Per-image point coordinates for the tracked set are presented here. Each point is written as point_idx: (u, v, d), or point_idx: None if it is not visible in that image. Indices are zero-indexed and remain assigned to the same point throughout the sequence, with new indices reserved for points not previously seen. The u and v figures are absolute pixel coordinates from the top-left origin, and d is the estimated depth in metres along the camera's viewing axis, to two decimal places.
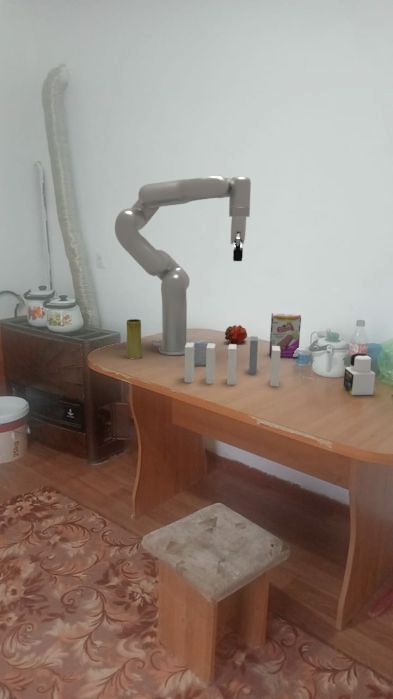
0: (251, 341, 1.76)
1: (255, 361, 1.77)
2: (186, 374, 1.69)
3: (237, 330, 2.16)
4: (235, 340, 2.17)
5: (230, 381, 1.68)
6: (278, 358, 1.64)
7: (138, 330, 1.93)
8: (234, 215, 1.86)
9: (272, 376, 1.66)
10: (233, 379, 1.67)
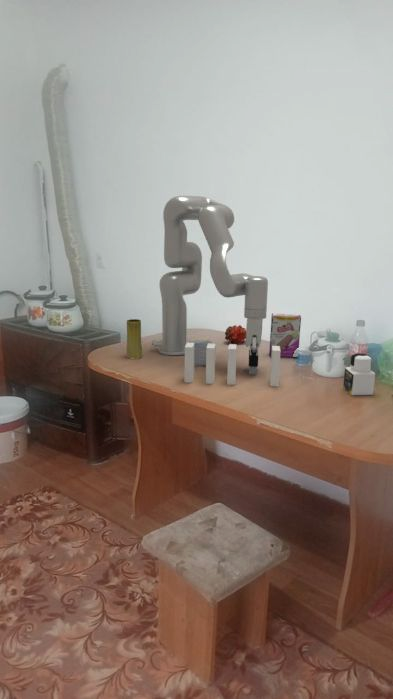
0: None
1: None
2: (186, 374, 1.69)
3: (237, 330, 2.16)
4: (235, 340, 2.17)
5: (230, 381, 1.68)
6: (278, 358, 1.64)
7: (138, 330, 1.93)
8: (250, 317, 1.73)
9: (272, 376, 1.66)
10: (233, 379, 1.67)
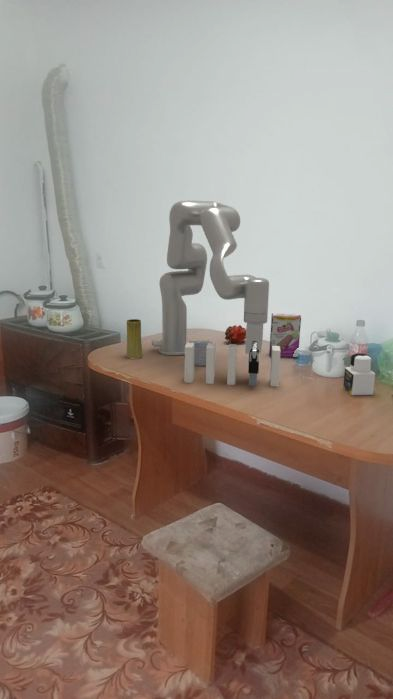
0: None
1: None
2: (186, 374, 1.69)
3: (237, 330, 2.16)
4: (235, 340, 2.17)
5: (230, 381, 1.68)
6: (278, 358, 1.64)
7: (138, 330, 1.93)
8: (250, 322, 1.62)
9: (272, 376, 1.66)
10: (233, 379, 1.67)
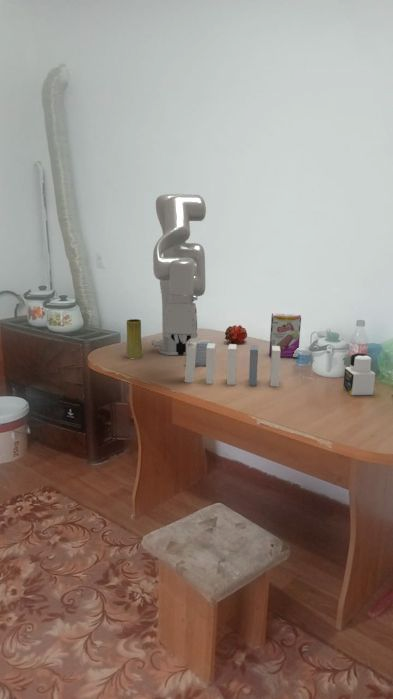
0: (251, 350, 1.64)
1: (255, 372, 1.66)
2: (187, 374, 1.69)
3: (237, 330, 2.16)
4: (235, 340, 2.17)
5: (230, 381, 1.68)
6: (278, 358, 1.64)
7: (138, 330, 1.93)
8: None
9: (272, 376, 1.66)
10: (233, 379, 1.67)
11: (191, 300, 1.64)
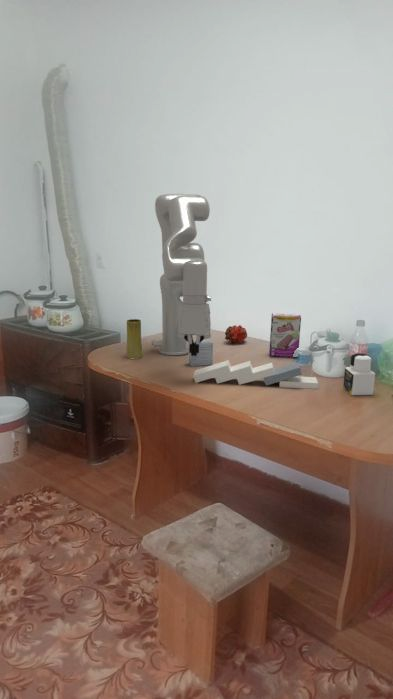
0: (298, 368, 1.63)
1: (279, 380, 1.65)
2: (201, 375, 1.68)
3: (237, 330, 2.16)
4: (235, 340, 2.17)
5: (240, 380, 1.67)
6: (309, 388, 1.65)
7: (138, 330, 1.93)
8: None
9: (290, 382, 1.65)
10: (243, 381, 1.67)
11: (205, 301, 1.63)
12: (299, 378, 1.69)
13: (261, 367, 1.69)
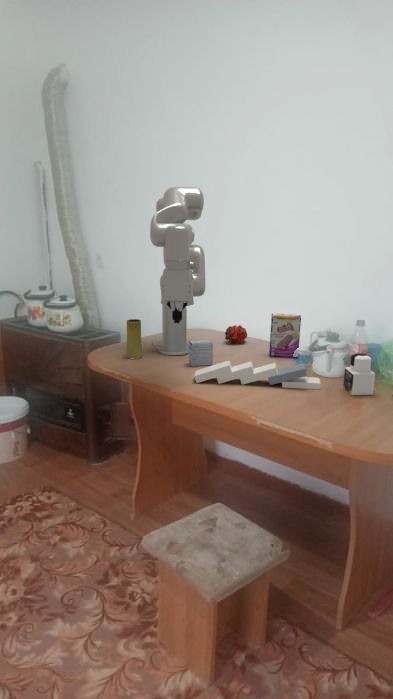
0: (303, 370, 1.62)
1: (283, 380, 1.65)
2: (202, 375, 1.68)
3: (237, 330, 2.16)
4: (235, 340, 2.17)
5: (243, 379, 1.67)
6: None
7: (138, 330, 1.93)
8: None
9: (293, 383, 1.65)
10: (246, 381, 1.67)
11: (187, 266, 1.61)
12: (302, 378, 1.68)
13: (265, 367, 1.69)
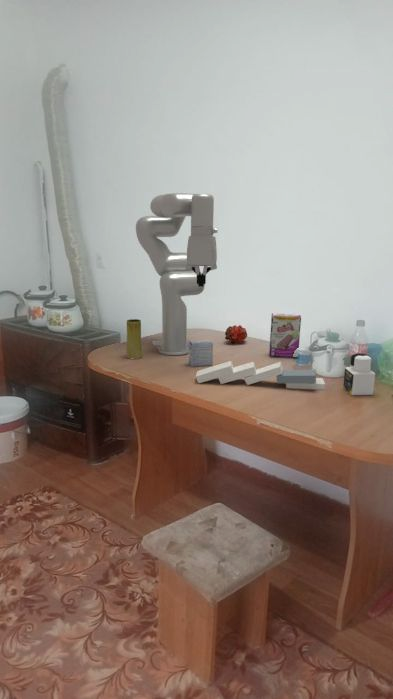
0: (313, 376, 1.61)
1: (291, 381, 1.64)
2: (204, 375, 1.68)
3: (237, 330, 2.16)
4: (235, 340, 2.17)
5: (248, 380, 1.67)
6: None
7: (138, 330, 1.93)
8: None
9: (297, 384, 1.65)
10: (251, 382, 1.67)
11: (211, 232, 1.73)
12: None
13: (269, 366, 1.68)
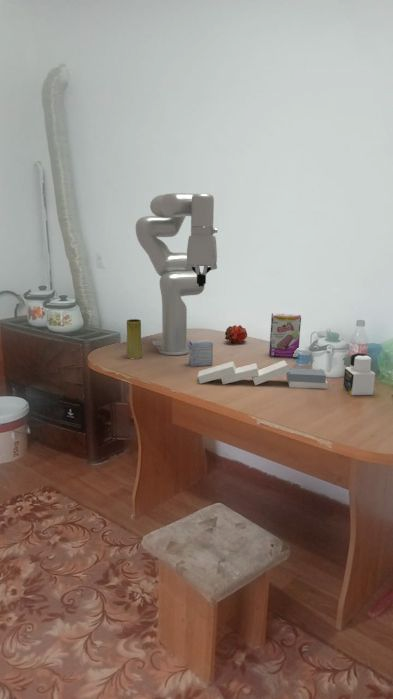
0: (324, 376, 1.64)
1: (301, 380, 1.65)
2: (206, 376, 1.67)
3: (237, 330, 2.16)
4: (235, 340, 2.17)
5: (256, 380, 1.66)
6: None
7: (138, 330, 1.93)
8: None
9: (300, 383, 1.65)
10: (259, 381, 1.67)
11: (212, 232, 1.73)
12: None
13: (275, 365, 1.70)
